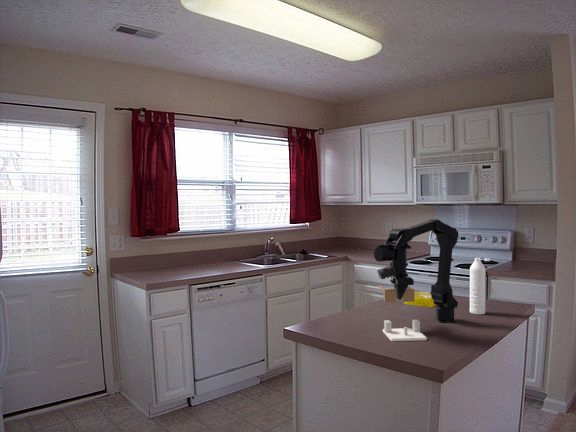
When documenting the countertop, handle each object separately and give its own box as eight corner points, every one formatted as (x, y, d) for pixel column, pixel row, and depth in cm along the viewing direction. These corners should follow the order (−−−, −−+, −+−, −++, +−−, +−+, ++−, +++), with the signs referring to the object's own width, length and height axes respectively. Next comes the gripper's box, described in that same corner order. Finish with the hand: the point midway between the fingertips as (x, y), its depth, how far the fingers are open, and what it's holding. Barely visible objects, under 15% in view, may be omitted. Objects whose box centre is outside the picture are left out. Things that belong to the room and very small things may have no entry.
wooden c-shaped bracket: (378, 297, 183) (378, 285, 183) (407, 297, 184) (407, 285, 184) (384, 302, 173) (384, 289, 173) (414, 301, 174) (414, 289, 174)
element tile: (441, 302, 220) (441, 292, 220) (434, 308, 207) (434, 298, 207) (412, 298, 228) (412, 289, 228) (403, 304, 215) (403, 295, 215)
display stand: (382, 331, 170) (382, 319, 170) (415, 330, 171) (415, 318, 171) (391, 341, 158) (391, 327, 158) (426, 340, 159) (426, 327, 159)
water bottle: (467, 313, 196) (467, 257, 195) (472, 310, 201) (472, 256, 200) (487, 316, 190) (487, 259, 190) (492, 313, 195) (492, 258, 194)
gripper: (373, 257, 183) (373, 294, 184) (385, 263, 164) (385, 304, 165) (400, 257, 183) (400, 293, 184) (414, 263, 165) (414, 304, 165)
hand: (399, 298), depth 175 cm, fingers closed on wooden c-shaped bracket
